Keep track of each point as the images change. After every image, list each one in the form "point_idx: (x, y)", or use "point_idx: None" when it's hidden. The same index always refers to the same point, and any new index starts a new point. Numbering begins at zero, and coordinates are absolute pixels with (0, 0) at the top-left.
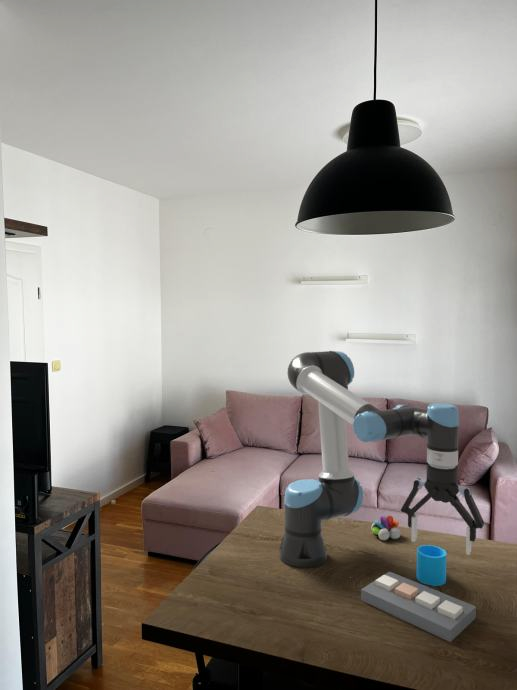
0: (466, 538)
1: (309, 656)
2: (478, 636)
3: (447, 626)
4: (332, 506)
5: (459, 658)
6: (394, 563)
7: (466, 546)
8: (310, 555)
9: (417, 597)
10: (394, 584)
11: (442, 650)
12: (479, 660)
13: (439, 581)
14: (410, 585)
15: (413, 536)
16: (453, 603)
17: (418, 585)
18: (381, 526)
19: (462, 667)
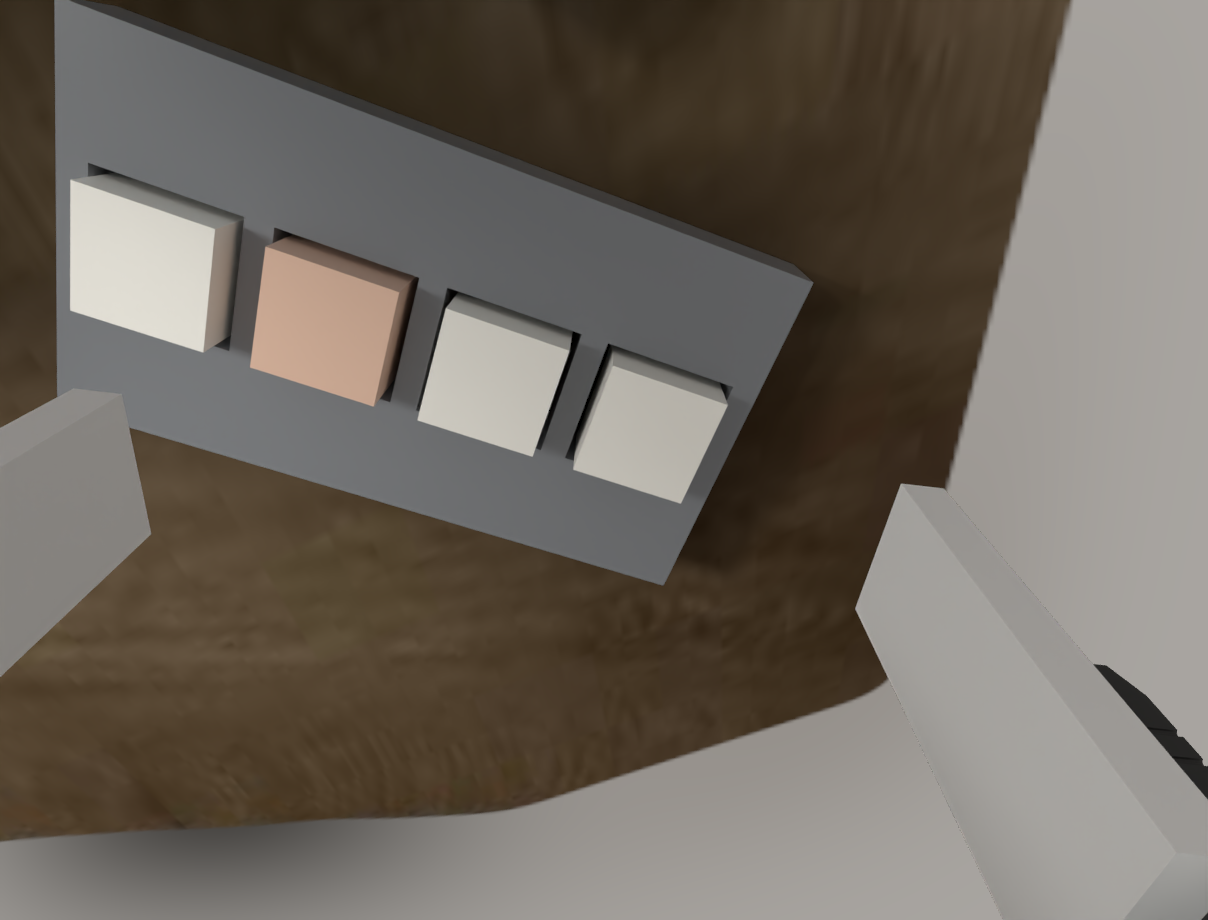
0: (952, 801)
1: (186, 807)
2: (796, 444)
3: (645, 563)
4: None
5: (704, 628)
6: None
7: (900, 688)
8: None
9: (429, 415)
10: (216, 283)
11: (631, 609)
12: (787, 609)
13: None
14: (330, 271)
15: (84, 582)
16: (667, 388)
17: (373, 154)
18: None
19: (717, 670)
